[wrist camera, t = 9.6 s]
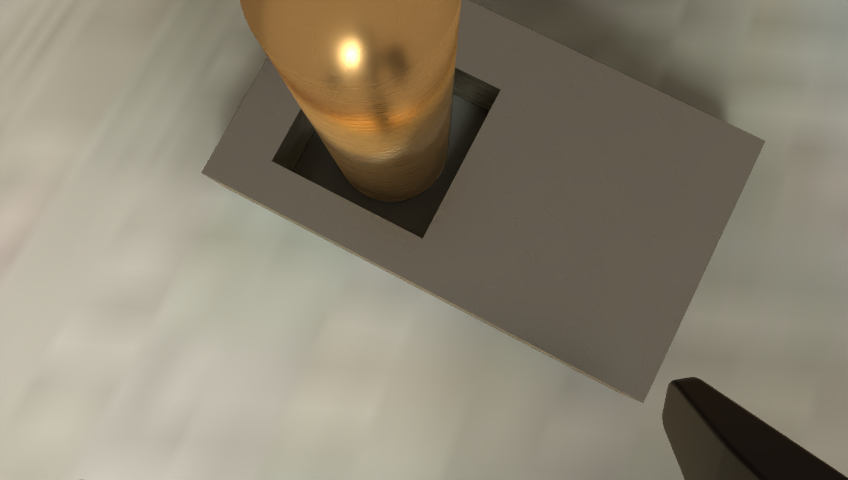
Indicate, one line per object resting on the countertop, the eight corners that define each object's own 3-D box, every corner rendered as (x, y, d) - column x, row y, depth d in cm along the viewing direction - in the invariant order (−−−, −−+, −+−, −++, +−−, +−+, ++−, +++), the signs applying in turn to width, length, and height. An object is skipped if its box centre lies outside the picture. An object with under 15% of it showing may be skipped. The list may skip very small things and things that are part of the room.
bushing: (470, 147, 24) (509, -24, 12) (390, 224, 23) (346, 131, 11) (393, 71, 24) (354, -169, 12) (313, 146, 24) (192, -25, 12)
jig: (730, 159, 23) (765, 141, 21) (620, 393, 22) (643, 402, 20) (346, -25, 25) (336, -63, 22) (226, 187, 23) (201, 172, 21)
